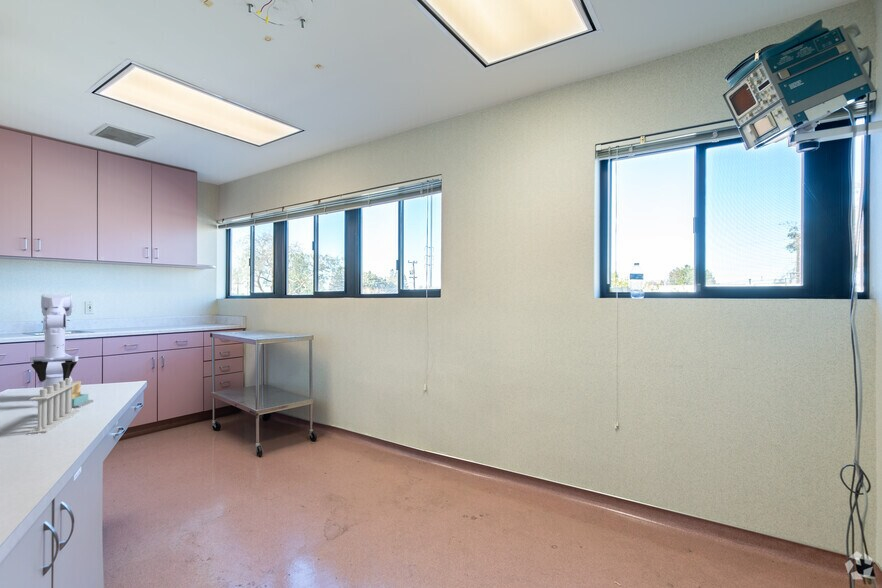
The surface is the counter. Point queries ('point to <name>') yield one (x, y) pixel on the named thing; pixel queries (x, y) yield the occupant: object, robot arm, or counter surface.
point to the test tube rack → (54, 405)
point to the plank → (76, 390)
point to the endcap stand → (80, 401)
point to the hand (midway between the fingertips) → (54, 380)
